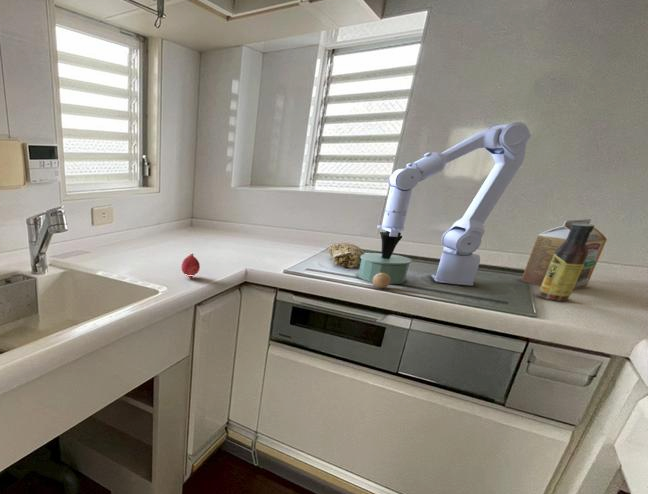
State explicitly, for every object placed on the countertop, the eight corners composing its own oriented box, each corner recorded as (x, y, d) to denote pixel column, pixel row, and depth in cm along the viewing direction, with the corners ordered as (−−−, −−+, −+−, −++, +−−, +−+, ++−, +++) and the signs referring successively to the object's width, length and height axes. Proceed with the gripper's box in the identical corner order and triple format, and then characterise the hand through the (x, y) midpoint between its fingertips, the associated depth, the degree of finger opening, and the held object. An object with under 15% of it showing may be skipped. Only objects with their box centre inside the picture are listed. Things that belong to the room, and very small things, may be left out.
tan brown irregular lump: (362, 273, 138) (368, 251, 152) (361, 252, 135) (368, 231, 149) (321, 275, 146) (331, 253, 160) (320, 255, 142) (329, 234, 156)
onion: (184, 280, 126) (185, 255, 123) (178, 276, 132) (179, 252, 129) (201, 279, 128) (203, 254, 125) (195, 274, 133) (196, 250, 130)
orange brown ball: (388, 286, 120) (391, 271, 118) (389, 291, 116) (393, 275, 114) (370, 285, 121) (373, 270, 120) (371, 289, 118) (374, 274, 116)
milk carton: (561, 290, 116) (589, 223, 108) (521, 280, 125) (543, 218, 118) (586, 287, 118) (614, 221, 111) (544, 277, 128) (568, 216, 120)
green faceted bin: (401, 275, 131) (406, 257, 129) (406, 286, 120) (411, 266, 118) (357, 271, 136) (361, 254, 134) (358, 281, 125) (362, 262, 123)
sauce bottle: (536, 293, 113) (564, 221, 106) (567, 297, 110) (598, 223, 102) (537, 299, 109) (566, 224, 101) (569, 304, 105) (602, 226, 97)
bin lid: (407, 258, 129) (411, 244, 127) (413, 268, 118) (417, 252, 116) (359, 255, 135) (362, 240, 133) (360, 264, 123) (363, 248, 121)
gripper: (379, 208, 128) (370, 250, 133) (382, 213, 116) (372, 260, 121) (404, 209, 125) (394, 252, 130) (411, 214, 113) (399, 262, 118)
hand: (385, 256), depth 125 cm, fingers closed on bin lid, 2 cm apart
